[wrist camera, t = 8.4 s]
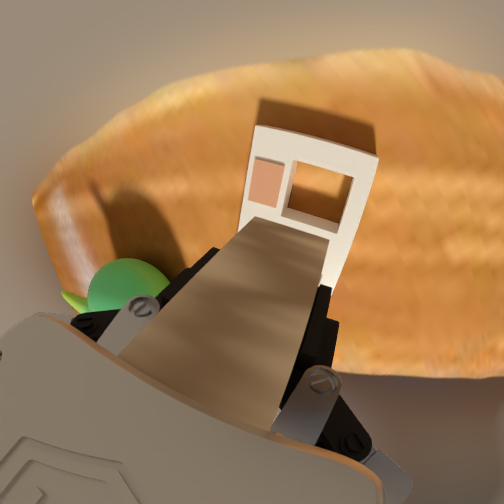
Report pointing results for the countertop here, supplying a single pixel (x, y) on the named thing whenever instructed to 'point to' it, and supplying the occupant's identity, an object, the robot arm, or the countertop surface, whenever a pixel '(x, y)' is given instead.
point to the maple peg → (237, 323)
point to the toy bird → (118, 285)
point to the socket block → (281, 180)
